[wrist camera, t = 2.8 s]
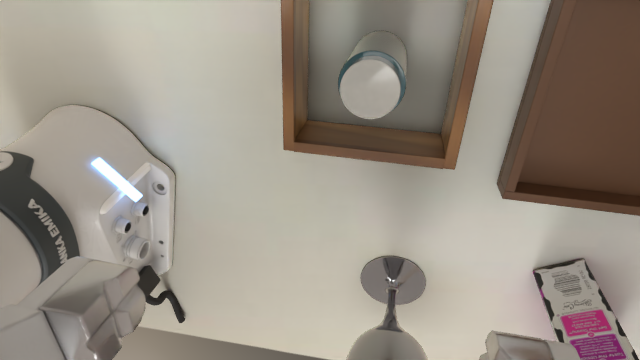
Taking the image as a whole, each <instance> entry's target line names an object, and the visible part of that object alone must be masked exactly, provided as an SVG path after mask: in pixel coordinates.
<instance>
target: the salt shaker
mask: <svg viewBox="0 0 640 360" xmlns="http://www.w3.org/2000/svg"><path fill="white" fill-rule="evenodd" d="M406 67H407V53H406V49H405V46H404V44H403V42H402V41H401V40H400V39H399V38H398V37H397V36H396V35H394V34H393V33H391V32H387V31H374V32H371V33H369V34H367V35H365V36H364V37H363V38H362V39H361V40H360V41H359V42H358V43H357V45H356V47H355V48H354V50H353V51H352V53H351V55H350V56H349V58H348V59H347V61H346V63H345V64H344V66H343V68H342V69H341V72H340V75H339V79H338V89H339V93H340V96H341V99H342V102H343V104H344V105H345V107H346V108H347V109H348V110H349V111H350V112H351V113H352V114H354V115H356V116H358V117H360V118H364V119H376V118H380V117H383V116H385V115H386V114H388V113H389V112H391V111H392V110H393V109H395V108H396V107H397V105H398V104H399V103H400V102H401V100H402V98H403V96H404V93H405V89H406Z"/></svg>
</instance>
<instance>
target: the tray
mask: <svg viewBox="0 0 640 360" xmlns="http://www.w3.org/2000/svg"><path fill="white" fill-rule="evenodd" d="M497 185H498V188H499V191H500V193H501V196H502V198H503V199H510V200H518V201H526V202H534V203H542V204H550V205H558V206H566V207H574V208H582V209H590V210H598V211H606V212H614V213H622V214H630V215H638V216H640V0H551V3H550V6H549V9H548V13H547V16H546V20H545V23H544V26H543V30H542V33H541V36H540V40H539V43H538V47H537V50H536V53H535V57H534V60H533V63H532V67H531V70H530V74H529V77H528V80H527V84H526V87H525V90H524V94H523V97H522V101H521V104H520V107H519V111H518V114H517V117H516V121H515V124H514V128H513V131H512V134H511V138H510V141H509V144H508V148H507V151H506V155H505V158H504V161H503V165H502V168H501V171H500V175H499V178H498V182H497Z"/></svg>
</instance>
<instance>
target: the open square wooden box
mask: <svg viewBox="0 0 640 360" xmlns="http://www.w3.org/2000/svg"><path fill="white" fill-rule="evenodd" d="M492 5H493V0H467V6H466V11H465V16H464V21H463V26H462V31H461V36H460V41H459V46H458V51H457V56H456V61H455V66H454V71H453V76H452V81H451V86H450V91H449V96H448V101H447V106H446V111H445V116H444V121H443V126H442V131H441V134H437V133H428V132H418V131H408V130H398V129H389V128H379V127H369V126H359V125H350V124H340V123H330V122H320V121H311V120H307V119H308V54H309V0H281V30H282V87H283V145H284V150H289V151H294V152H302V153H311V154H319V155H328V156H336V157H345V158H354V159H362V160H371V161H379V162H388V163H397V164H405V165H414V166H422V167H431V168H440V169H443V168H445V169H453V170H454V169H455V166H456V162H457V157H458V153H459V149H460V144H461V140H462V135H463V131H464V127H465V122H466V118H467V114H468V109H469V105H470V101H471V96H472V92H473V87H474V83H475V79H476V74H477V70H478V66H479V61H480V57H481V53H482V48H483V44H484V40H485V35H486V31H487V26H488V22H489V18H490V13H491V9H492Z"/></svg>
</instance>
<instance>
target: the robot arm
mask: <svg viewBox="0 0 640 360" xmlns="http://www.w3.org/2000/svg"><path fill="white" fill-rule="evenodd" d="M161 184H162V185H163V186H164V187H163V186H162V185H161ZM174 204H175V175H174V173H173V171H172V170H171V169H170V168H169V167H168V166H166V165H165V164H164V163H162V162H161V161H159V160H158V159H156V158H155V157H153V156H152V155H151V154H150V153H149V152H148V151H147V150H146V149H145V148H144V147H143V145H142V144H141V143H140V142H139V140H138V139H137V138H136V137H135V136H134V135H133V134H132V133H131V132H130V131H129V130H128V129H127V128H126V127H125V126H123V125H122V124H121V123H119V122H118V121H117V120H115V119H114V118H112V117H110V116H109V115H107V114H105V113H103V112H101V111H98V110H96V109H93V108H89V107H85V106H79V105H67V106H61V107H58V108H56V109H54V110H52V111H50V112H49V113H48V114H47V115H46V116H45V117H44V118H43V119H42V120H41V121H40V122H39V123H38V124H37V125H36V126H35V127H33V128H32V129H31V130H30V131H28V132H27V133H26V134H24V135H23V136H22V137H20V138H19V139H17V140H16V141H14V142H13V143H11V144H10V145H8V146H7V147H5V148H3V149H2V150H0V360H112V359H113V358H114V357H115V355H116V354H117V353H118V351H119V350H120V349H121V347H122V337H124V336H126V335H128V334H129V333H131V332H133V331H134V330H135V328H136V327H137V326H138V324H139V323H140V321H141V319H142V316H143V314H144V311H145V304H146V302H147V303H149V304H151V305H159V304H161V303H162V302H163V301H164V300H165V298H168V299H169V301H170V302H171V304H172V306H173V309H174V312H175V314H176V317H177V319H178V321H179V323H183V322H184V321H185V318H184V316H183V313H182V311H181V308H180V305H179V303H178V301H177V299H176V297H175V296H174V294H173V293H172V292H169V291H163V292H162V293H161V294H160V295H159V296H158V298H153V297H152V296H150V293H151V292H152V291H153V289H154V288H155V287H156V286H157V284H158V283H159V282H160V278H159V277H158V276H157V275H159V274H162V273H165V272H167V271H168V270H169V269H170V268H171V267H172V263H173V235H174ZM485 343H486V349H487V353H485V354H483V355H481V356H480V358H479V360H581V359H580V357H579V355H578V352H577V350H576V349H575V348H574V346H573V345H572V344H567V343H561V342H556V341H550V340H542V339H540V338H534V337H528V336H522V335H516V334H510V333H504V332H498V331H491V332H490V333H489V334H488V337H487V339H486V342H485Z"/></svg>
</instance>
